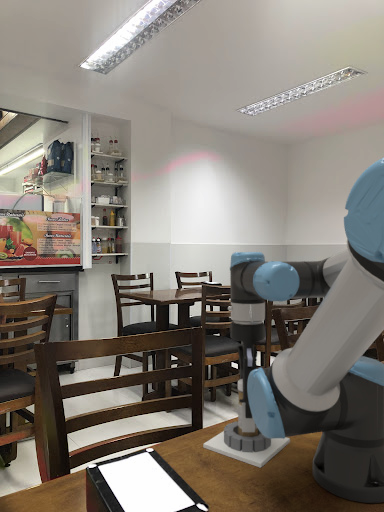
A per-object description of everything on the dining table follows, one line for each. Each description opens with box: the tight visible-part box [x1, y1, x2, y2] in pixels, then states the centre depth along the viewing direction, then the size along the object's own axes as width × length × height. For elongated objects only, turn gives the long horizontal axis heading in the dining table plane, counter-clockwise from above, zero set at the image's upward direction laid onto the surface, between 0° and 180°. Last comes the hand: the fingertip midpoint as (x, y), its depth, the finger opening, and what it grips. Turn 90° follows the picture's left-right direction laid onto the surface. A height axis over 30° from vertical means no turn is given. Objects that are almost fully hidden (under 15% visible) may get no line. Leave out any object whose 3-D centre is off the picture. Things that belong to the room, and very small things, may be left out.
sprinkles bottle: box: [237, 378, 258, 437], centre depth 91 cm, size 5×5×14 cm
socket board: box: [202, 421, 291, 469], centre depth 91 cm, size 14×14×3 cm
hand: (247, 426), depth 91 cm, fingers closed on sprinkles bottle, 4 cm apart
